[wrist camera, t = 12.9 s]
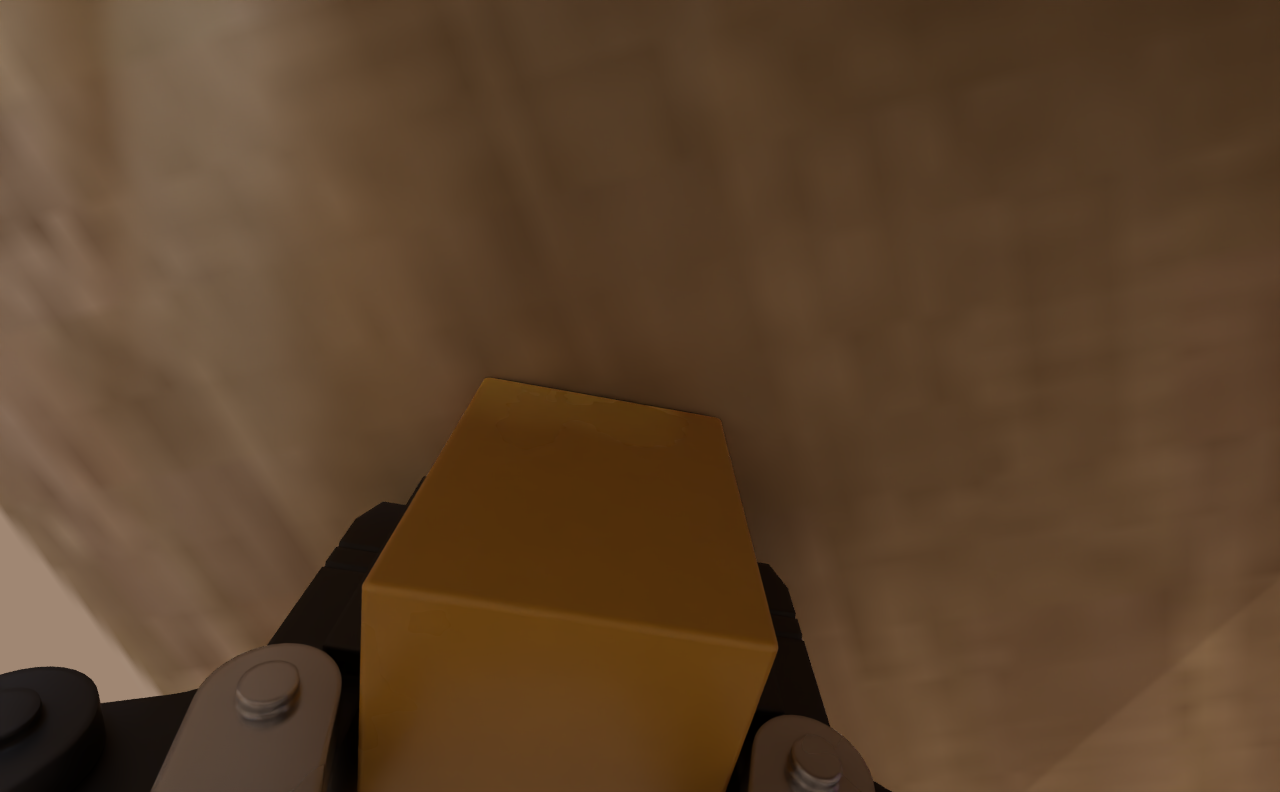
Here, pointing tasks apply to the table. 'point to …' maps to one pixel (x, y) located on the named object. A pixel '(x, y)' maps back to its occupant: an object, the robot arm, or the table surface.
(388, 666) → the yellow cube
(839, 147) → the table surface
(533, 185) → the table surface
